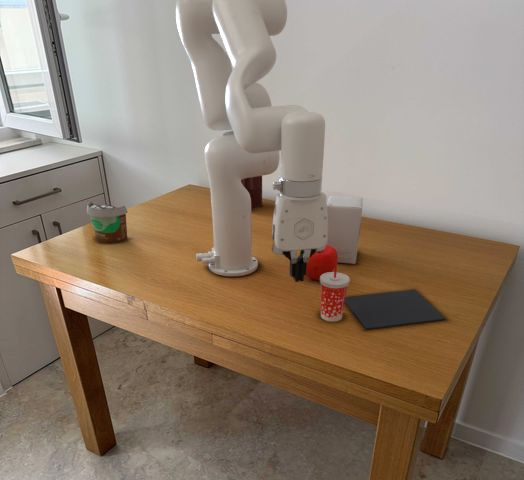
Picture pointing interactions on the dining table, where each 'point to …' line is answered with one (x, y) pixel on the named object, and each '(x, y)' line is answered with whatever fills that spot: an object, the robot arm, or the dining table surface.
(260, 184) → the toy vending machine
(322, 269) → the apple
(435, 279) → the dining table surface
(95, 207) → the food container
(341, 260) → the white product box
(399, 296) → the mat
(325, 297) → the beverage cup
